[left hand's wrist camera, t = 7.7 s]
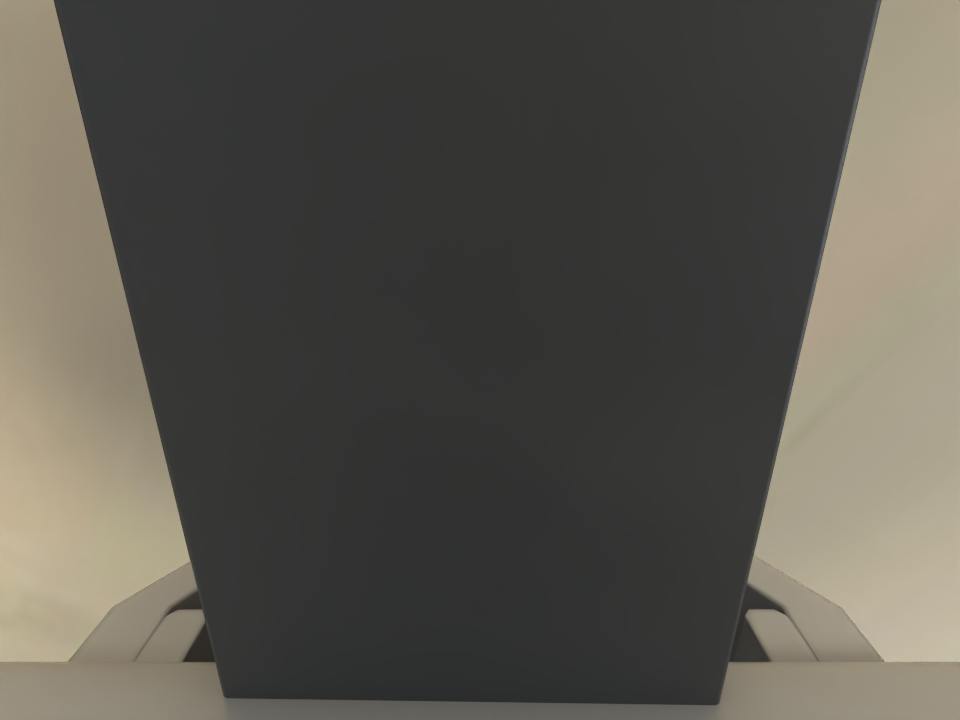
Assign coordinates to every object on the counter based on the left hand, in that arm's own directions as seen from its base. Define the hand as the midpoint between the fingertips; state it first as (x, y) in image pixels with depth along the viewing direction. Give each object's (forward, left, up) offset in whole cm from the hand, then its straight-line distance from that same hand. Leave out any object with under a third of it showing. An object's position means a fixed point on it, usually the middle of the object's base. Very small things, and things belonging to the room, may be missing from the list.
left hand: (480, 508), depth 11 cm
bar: (+27, -19, -3) cm, 33 cm away
